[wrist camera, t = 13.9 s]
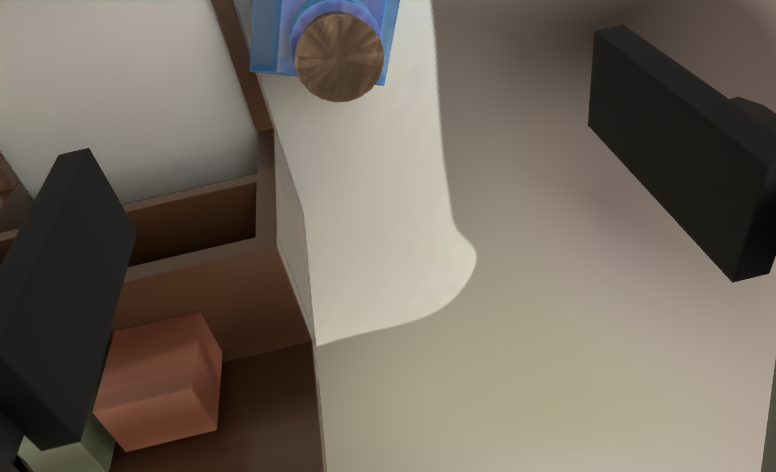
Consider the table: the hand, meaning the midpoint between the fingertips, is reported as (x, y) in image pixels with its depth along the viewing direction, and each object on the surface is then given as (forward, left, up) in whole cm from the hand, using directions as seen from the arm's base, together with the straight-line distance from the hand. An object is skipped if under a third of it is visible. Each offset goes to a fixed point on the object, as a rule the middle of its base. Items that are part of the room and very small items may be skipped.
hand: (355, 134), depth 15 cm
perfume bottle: (0, 0, -18) cm, 18 cm away
